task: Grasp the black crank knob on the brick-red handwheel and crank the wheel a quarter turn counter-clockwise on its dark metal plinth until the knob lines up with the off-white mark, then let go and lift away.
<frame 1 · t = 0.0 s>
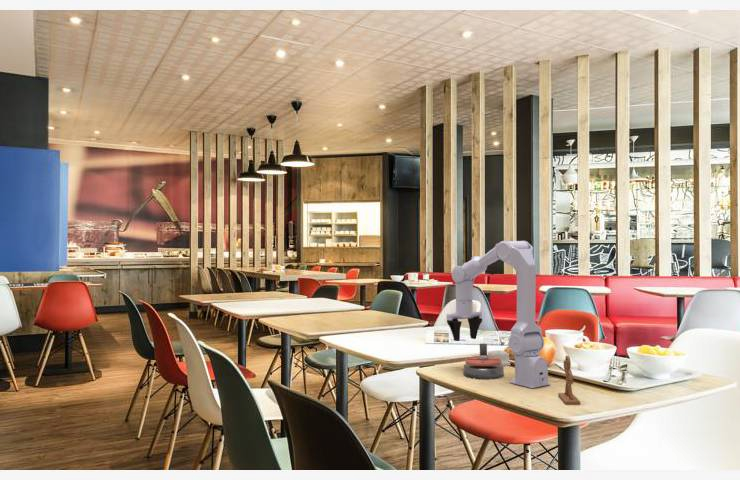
hand: (465, 339, 194), 10 cm above the table, tool pointing down, fingers open, 7 cm apart
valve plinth: (483, 374, 184), on the table
handwheel: (483, 355, 184), point 6 cm above the table, hinge at 0.0°
mechanical component: (498, 364, 202), on the table
brown statuette: (569, 401, 150), on the table
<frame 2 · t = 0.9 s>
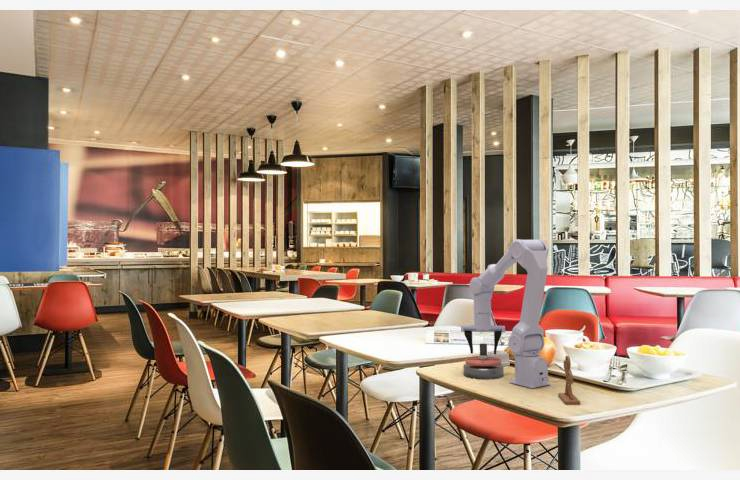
hand: (483, 353, 188), 6 cm above the table, tool pointing down, fingers open, 7 cm apart
nothing on the table moved.
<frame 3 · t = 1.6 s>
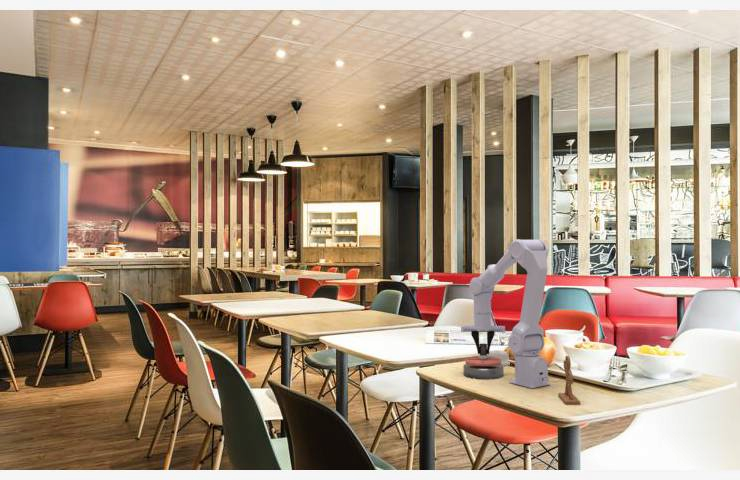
hand: (483, 353, 188), 6 cm above the table, tool pointing down, fingers closed on handwheel, 2 cm apart
handwheel: (483, 355, 184), point 6 cm above the table, hinge at 0.0°, touching gripper
everything else where it was.
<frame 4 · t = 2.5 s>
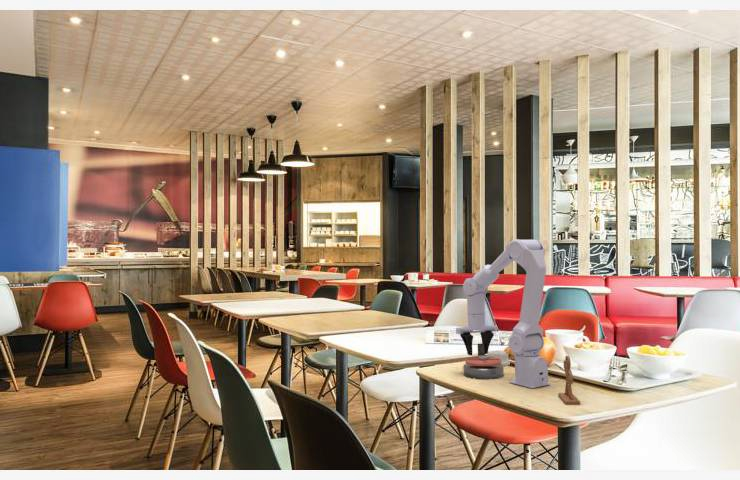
hand: (477, 354, 188), 6 cm above the table, tool pointing down, fingers open, 5 cm apart
handwheel: (483, 355, 184), point 6 cm above the table, hinge at 8.8°, touching gripper
everything else where it was.
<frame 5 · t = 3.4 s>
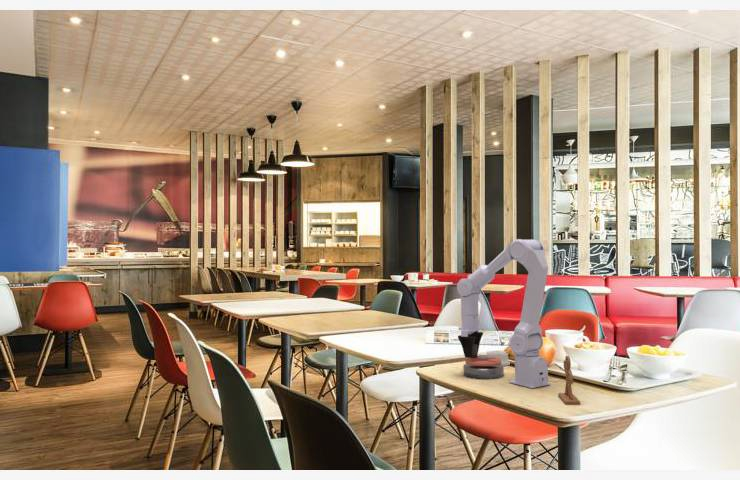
hand: (471, 355, 186), 6 cm above the table, tool pointing down, fingers open, 7 cm apart
handwheel: (483, 355, 184), point 6 cm above the table, hinge at 44.5°, touching gripper
everything else where it was.
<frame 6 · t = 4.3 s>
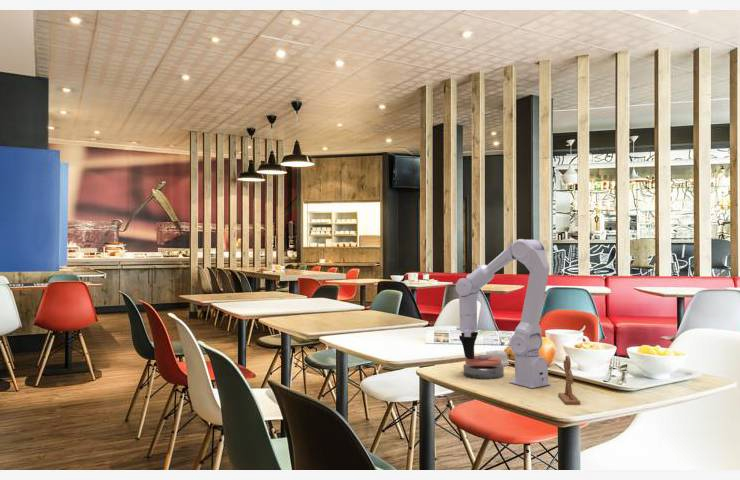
hand: (469, 355, 185), 6 cm above the table, tool pointing down, fingers open, 6 cm apart
handwheel: (483, 355, 184), point 6 cm above the table, hinge at 66.7°
everything else where it was.
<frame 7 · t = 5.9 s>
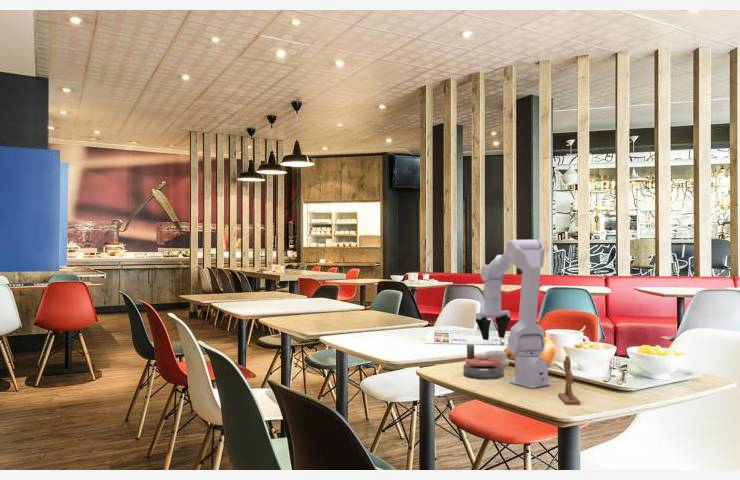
hand: (493, 338, 193), 10 cm above the table, tool pointing down, fingers open, 7 cm apart
nothing on the table moved.
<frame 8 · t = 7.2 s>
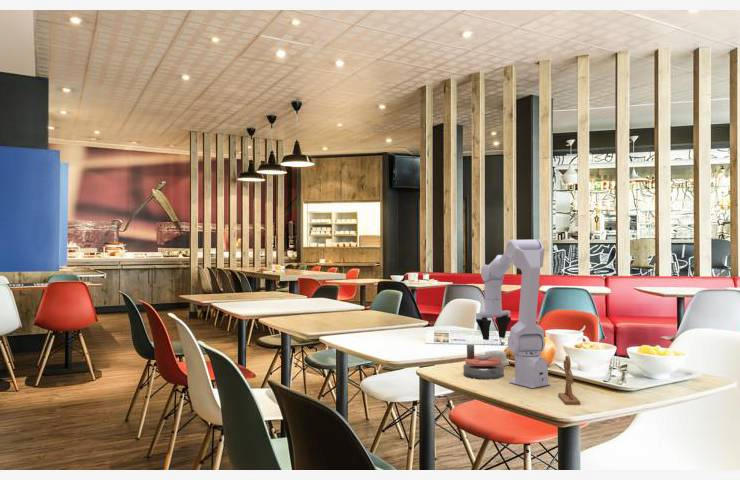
hand: (494, 338, 193), 10 cm above the table, tool pointing down, fingers open, 7 cm apart
at the end: handwheel at +67° (first picture: +0°); mechanical component moved 1.3 cm from its start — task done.
